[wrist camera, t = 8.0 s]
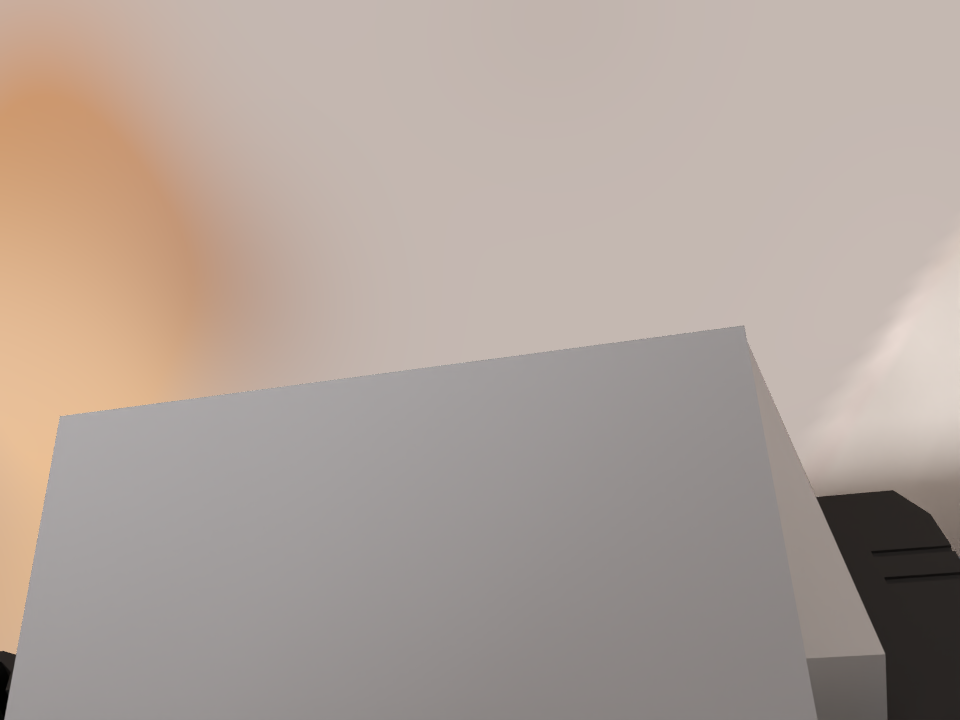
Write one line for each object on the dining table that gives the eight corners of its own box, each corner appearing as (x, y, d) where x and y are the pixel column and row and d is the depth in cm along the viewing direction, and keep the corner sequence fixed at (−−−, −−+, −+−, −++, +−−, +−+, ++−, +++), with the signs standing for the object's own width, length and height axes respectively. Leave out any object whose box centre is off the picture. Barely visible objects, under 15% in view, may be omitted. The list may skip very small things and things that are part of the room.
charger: (716, 574, 14) (743, 325, 5) (756, 844, 12) (898, 1148, 4) (436, 595, 15) (60, 416, 6) (439, 847, 14) (-65, 1090, 5)
